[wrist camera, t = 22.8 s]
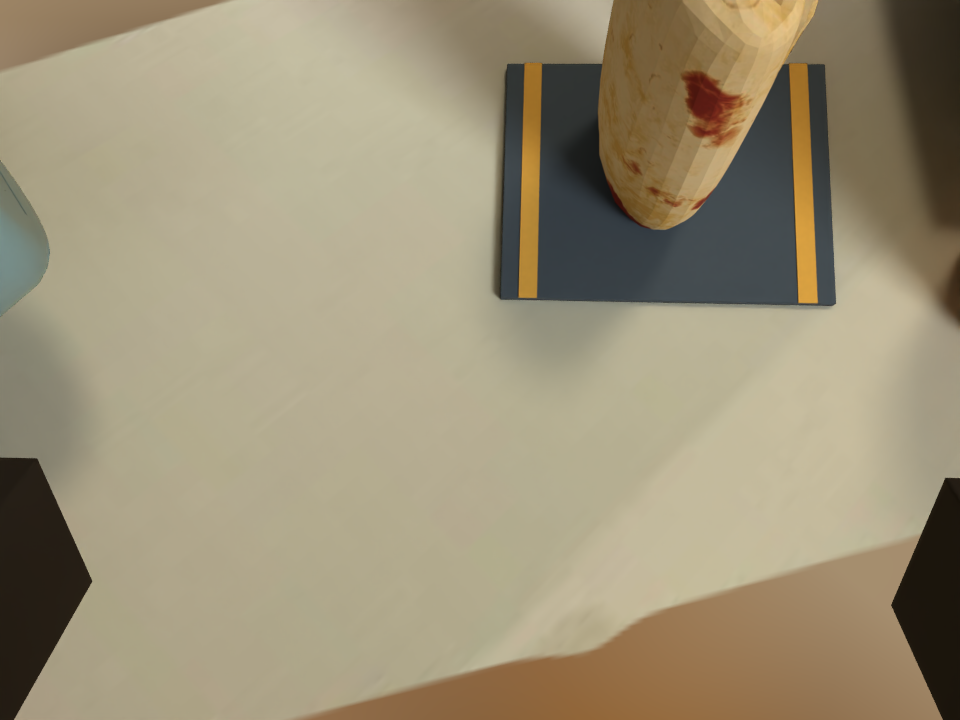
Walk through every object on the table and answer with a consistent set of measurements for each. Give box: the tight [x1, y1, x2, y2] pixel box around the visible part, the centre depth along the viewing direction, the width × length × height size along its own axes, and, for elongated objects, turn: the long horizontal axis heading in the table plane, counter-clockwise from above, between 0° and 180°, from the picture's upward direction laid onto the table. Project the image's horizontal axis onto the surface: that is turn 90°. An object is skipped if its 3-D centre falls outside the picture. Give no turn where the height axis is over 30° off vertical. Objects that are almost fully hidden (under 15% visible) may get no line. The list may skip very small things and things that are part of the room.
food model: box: [598, 0, 818, 230], centre depth 35 cm, size 10×7×20 cm
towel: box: [500, 63, 836, 306], centre depth 44 cm, size 18×14×1 cm
